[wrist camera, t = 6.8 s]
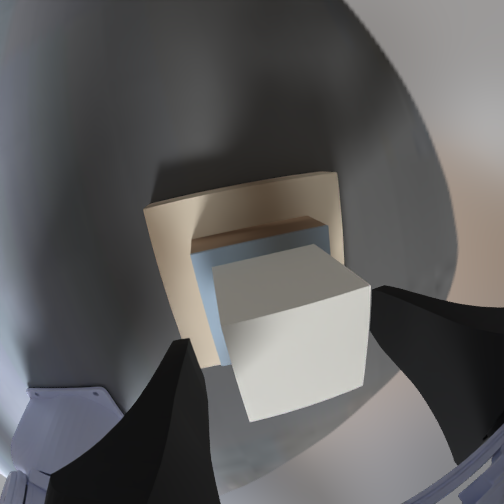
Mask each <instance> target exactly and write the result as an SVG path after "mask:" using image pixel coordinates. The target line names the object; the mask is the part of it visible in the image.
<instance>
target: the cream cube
mask: <svg viewBox="0 0 504 504" xmlns="http://www.w3.org/2000/svg"><path fill="white" fill-rule="evenodd" d="M212 274H213V280H214V287H215V293H216V300H217V306H218V312H219V318H220V324H221V329H222V332H223V336H224V339H225V343H226V346H227V350H228V353H229V357H230V360H231V363H232V367H233V370H234V373H235V377H236V380H237V383H238V386H239V390H240V393H241V396H242V399H243V402H244V405H245V408H246V412H247V415H248V418H249V421H250V422H253V421H257V420H261V419H265V418H269V417H273V416H276V415H280V414H284V413H287V412H291V411H294V410H297V409H300V408H304V407H307V406H310V405H313V404H316V403H319V402H321V401H324V400H327V399H330V398H333V397H335V396H338V395H341V394H343V393H346V392H348V391H351V390H353V389H356V388H358V387H360V386H363V380H364V372H365V363H366V354H367V343H368V331H369V316H370V293H371V285H370V284H368V283H367V282H366V281H364V280H363V279H362V278H360V277H359V276H358V275H356V274H355V273H354V272H352V271H351V270H350V269H348V268H347V267H346V266H344V265H343V264H341V263H340V262H339V261H337V260H336V259H335V258H333V257H332V256H330V255H329V254H328V253H326V252H325V251H323V250H322V249H321V248H319V247H318V246H316V245H315V244H311V245H307V246H303V247H298V248H294V249H289V250H285V251H281V252H276V253H272V254H268V255H263V256H259V257H254V258H250V259H246V260H241V261H237V262H232V263H228V264H224V265H219V266H215V267H212Z"/></svg>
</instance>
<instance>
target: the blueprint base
mask: <svg viewBox="0 0 504 504" xmlns="http://www.w3.org/2000/svg"><path fill="white" fill-rule="evenodd" d="M143 211H144V215H145V219H146V223H147V227H148V231H149V235H150V239H151V243H152V246H153V250H154V254H155V257H156V261H157V264H158V268H159V271H160V274H161V278H162V281H163V284H164V287H165V291H166V294H167V297H168V300H169V303H170V306H171V309H172V312H173V315H174V318H175V321H176V324H177V327H178V329H179V332H180V335H181V338H182V339H185V338H190V341H191V344H192V346H193V349H194V352H195V355H196V357H197V360H198V363H199V365H200V368H205V367H210V366H215V365H220V364H221V365H222V366H225V365H230V364H232V363H231V360H230V357H229V353H228V350H227V346H226V343H225V339H224V336H223V332H222V329H221V324H220V318H219V312H218V306H217V300H216V293H215V287H214V280H213V274H212V267H215V266H219V265H224V264H228V263H232V262H237V261H241V260H246V259H250V258H254V257H259V256H263V255H268V254H272V253H276V252H281V251H285V250H289V249H294V248H298V247H303V246H307V245H311V244H315V245H316V246H318V247H319V248H321V249H322V250H323V251H325V252H326V253H328V254H329V255H330V256H332V257H333V258H335V259H336V260H337V261H339V262H340V263H341V264H343V265H344V247H343V231H342V217H341V205H340V195H339V185H338V176H337V173H336V172H325V171H319V172H312V173H305V174H298V175H291V176H285V177H278V178H272V179H266V180H260V181H254V182H249V183H243V184H238V185H233V186H228V187H222V188H217V189H213V190H208V191H203V192H198V193H194V194H189V195H185V196H180V197H176V198H172V199H167V200H163V201H159V202H155V203H151V204H149V205H148V206H147V207H145V208H144V209H143Z"/></svg>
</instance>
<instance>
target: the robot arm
mask: <svg viewBox="0 0 504 504" xmlns="http://www.w3.org/2000/svg"><path fill="white" fill-rule="evenodd" d="M370 331H371V333H372V335H373V336H374V338H375V339H376V341H377V342H378V344H379V345H380V347H381V348H382V349H383V350H384V352H385V353H386V354H387V355H388V356H389V357H390V358H391V359H392V361H393V362H394V363H395V364H396V365H397V366H398V367H399V368H400V369H401V370H402V371H403V373H404V374H405V375H406V376H407V377H408V378H409V379H410V380H411V382H412V383H413V384H414V385H415V387H416V388H417V389H418V391H419V392H420V394H421V395H422V396H423V398H424V400H425V401H426V402H427V404H428V406H429V407H430V409H431V411H432V412H433V414H434V416H435V418H436V419H437V421H438V423H439V425H440V427H441V429H442V431H443V433H444V435H445V438H446V440H447V442H448V445H449V447H450V450H451V452H452V455H453V458H454V461H455V463H456V464H457V465H458V466H457V467H456V468H454V469H453V470H452V471H450V472H449V473H448V474H446V475H445V476H444V477H442V478H441V479H440V480H438V481H437V482H436V483H434V484H432V485H431V486H429V487H428V488H426V489H425V490H424V491H422V492H420V493H419V494H417V495H415V496H414V497H412V498H410V499H409V500H407V501H405V502H404V503H402V504H436V503H437V502H438V501H440V500H441V499H442V498H444V497H445V496H447V495H448V494H449V493H451V492H452V491H453V490H455V489H456V488H457V487H458V486H460V485H461V484H462V483H463V482H465V481H466V480H467V479H468V478H469V477H471V476H472V475H473V474H474V473H475V472H476V471H477V470H479V469H480V468H481V467H482V466H483V465H484V464H485V463H486V462H487V461H488V460H489V459H490V458H491V457H492V456H493V457H492V464H491V466H490V467H489V468H488V469H487V470H486V471H485V472H484V473H483V474H482V475H480V476H479V477H478V478H477V479H476V480H475V481H474V482H473V483H471V484H470V485H469V486H468V487H467V488H466V489H464V490H463V491H462V492H461V493H459V495H458V497H459V498H460V500H461V501H462V504H504V308H496V307H479V306H471V305H464V304H458V303H453V302H448V301H444V300H440V299H436V298H432V297H428V296H425V295H421V294H417V293H414V292H410V291H407V290H403V289H399V288H395V287H391V286H385V285H384V286H381V287H378V288H375V289H372V307H371V323H370ZM96 392H97V393H96ZM26 393H27V394H28V396H29V397H30V398H31V399H30V401H29V403H28V405H27V407H26V409H25V411H24V413H23V416H22V418H21V420H20V422H19V424H18V427H17V429H16V431H15V434H14V436H13V439H12V442H11V456H12V461H13V464H14V466H15V468H16V470H17V471H12V472H10V473H9V475H8V477H7V479H6V482H5V485H4V487H3V490H2V494H1V498H0V504H221V503H220V499H219V495H218V491H217V486H216V482H215V477H214V472H213V467H212V462H211V454H210V439H209V416H208V398H207V392H206V385H205V379H204V376H203V373H202V371H201V368H200V365H199V363H198V360H197V357H196V355H195V352H194V349H193V346H192V344H191V341H190V338H185V339H180V340H175V341H173V342H172V343H171V345H170V347H169V349H168V351H167V352H166V354H165V356H164V358H163V360H162V361H161V363H160V365H159V367H158V368H157V370H156V372H155V373H154V375H153V377H152V378H151V380H150V382H149V383H148V385H147V386H146V388H145V389H144V391H143V392H142V394H141V395H140V397H139V398H138V399H137V401H136V402H135V403H134V405H133V406H132V407H131V408H130V410H129V411H128V412H127V413H126V414H125V416H124V415H123V413H122V412H121V411H120V409H119V408H118V406H117V405H116V403H115V402H114V401H113V399H112V398H111V396H110V395H109V393H108V392H107V390H106V389H105V388H103V387H84V388H28V389H27V390H26Z"/></svg>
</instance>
